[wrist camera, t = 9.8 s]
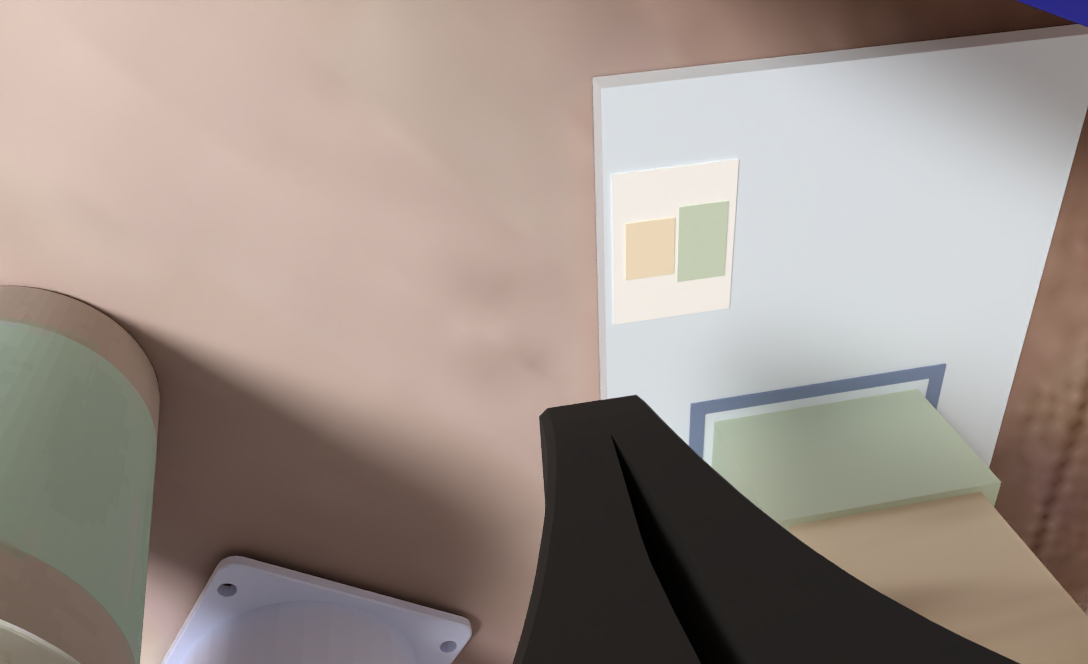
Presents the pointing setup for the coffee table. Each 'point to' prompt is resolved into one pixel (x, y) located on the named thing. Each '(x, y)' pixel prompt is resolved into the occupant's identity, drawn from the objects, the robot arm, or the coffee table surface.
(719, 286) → the board
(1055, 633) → the maple block
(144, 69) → the coffee table surface
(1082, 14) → the puzzle toy
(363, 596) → the robot arm
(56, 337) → the coffee cup
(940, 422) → the sage base block
